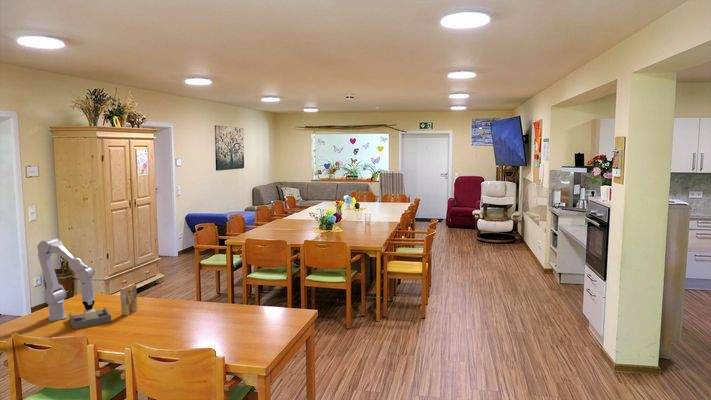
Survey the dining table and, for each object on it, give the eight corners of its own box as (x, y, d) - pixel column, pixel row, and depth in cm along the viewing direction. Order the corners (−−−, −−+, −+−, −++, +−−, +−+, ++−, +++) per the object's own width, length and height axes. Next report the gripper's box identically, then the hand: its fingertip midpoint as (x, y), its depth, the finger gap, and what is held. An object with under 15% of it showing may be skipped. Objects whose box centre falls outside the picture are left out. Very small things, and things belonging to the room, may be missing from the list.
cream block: (84, 317, 265) (83, 310, 265) (94, 315, 268) (94, 308, 268) (85, 320, 261) (85, 313, 261) (96, 318, 264) (95, 311, 264)
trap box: (69, 319, 268) (68, 313, 267) (105, 312, 278) (105, 306, 278) (73, 329, 254) (72, 322, 254) (111, 321, 264) (111, 315, 264)
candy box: (131, 309, 283) (130, 283, 281) (138, 310, 282) (136, 284, 280) (121, 315, 274) (119, 288, 273) (127, 315, 273) (125, 288, 272)
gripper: (97, 291, 263) (99, 316, 264) (93, 285, 274) (95, 308, 276) (82, 294, 258) (84, 319, 260) (79, 287, 270) (81, 311, 272)
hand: (89, 314), depth 268 cm, fingers closed
